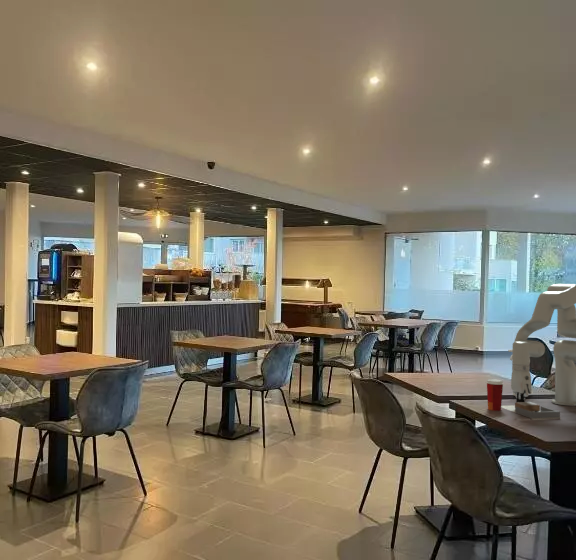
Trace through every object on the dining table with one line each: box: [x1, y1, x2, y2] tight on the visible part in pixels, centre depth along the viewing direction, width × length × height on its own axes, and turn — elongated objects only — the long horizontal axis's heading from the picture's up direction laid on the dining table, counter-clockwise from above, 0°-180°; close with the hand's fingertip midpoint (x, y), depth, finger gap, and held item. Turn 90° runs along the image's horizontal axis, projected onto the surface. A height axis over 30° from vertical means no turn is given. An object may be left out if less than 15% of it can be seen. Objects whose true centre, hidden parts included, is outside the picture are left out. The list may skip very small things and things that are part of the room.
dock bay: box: [501, 404, 561, 420], centre depth 269 cm, size 14×27×3 cm, turn 12°
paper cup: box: [485, 378, 504, 412], centre depth 272 cm, size 8×8×14 cm
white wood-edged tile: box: [514, 401, 541, 412], centre depth 268 cm, size 8×7×4 cm
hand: (520, 407), depth 274 cm, fingers closed
